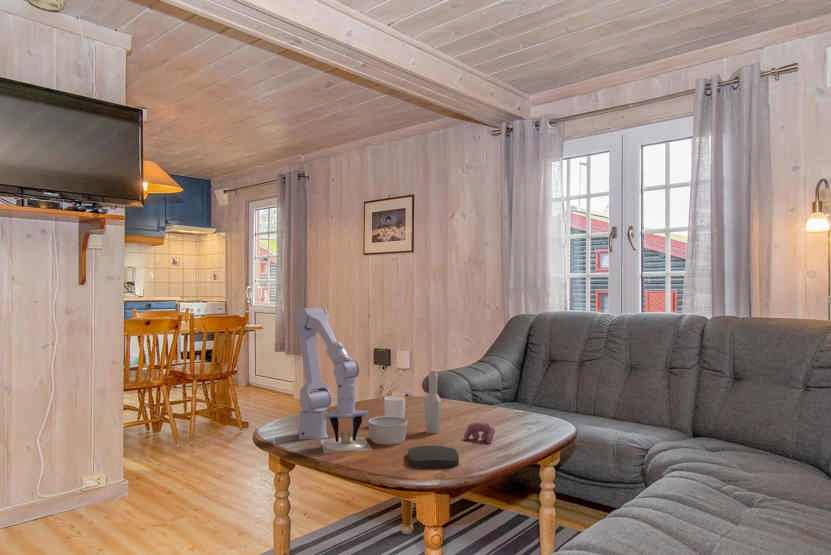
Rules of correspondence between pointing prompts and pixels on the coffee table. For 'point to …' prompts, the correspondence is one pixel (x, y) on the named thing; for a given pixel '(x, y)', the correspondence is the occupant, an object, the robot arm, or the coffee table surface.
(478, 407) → the coffee table surface
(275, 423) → the coffee table surface
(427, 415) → the low poly bottle
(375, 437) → the ramekin
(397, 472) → the coffee table surface
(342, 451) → the mat
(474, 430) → the video game controller
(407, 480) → the coffee table surface
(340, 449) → the lid
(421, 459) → the media streaming box
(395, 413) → the white cup
